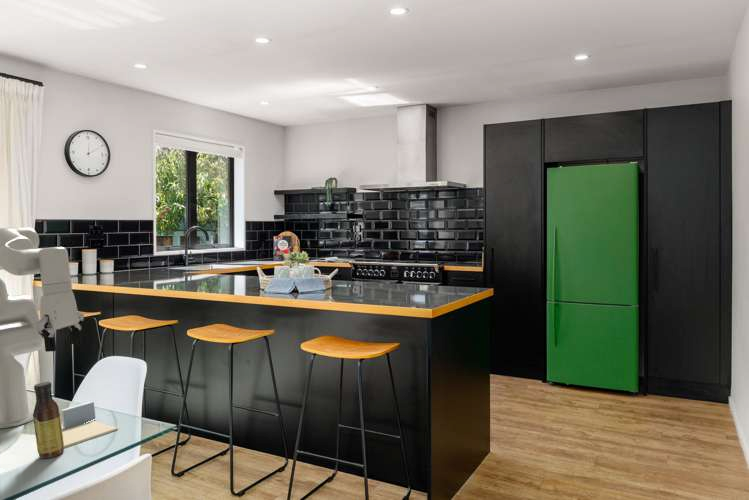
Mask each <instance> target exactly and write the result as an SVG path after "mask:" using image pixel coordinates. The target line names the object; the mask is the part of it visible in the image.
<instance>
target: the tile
mask: <svg viewBox="0 0 749 500" xmlns="http://www.w3.org/2000/svg"><path fill="white" fill-rule="evenodd" d="M61 418H62V419H61V420H62V421H61V422H62V430H66V429H69V428H72V427H75V426H78V425H82V424H84V423H86V422H88V421H91V420H93V419H95V418H96V411H95V402H94V401H88V402H84V403H81V404H78V405H73V406H70V407H67V408H63V409H61Z"/></svg>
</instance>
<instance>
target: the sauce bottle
mask: <svg viewBox="0 0 749 500" xmlns="http://www.w3.org/2000/svg"><path fill="white" fill-rule="evenodd" d="M33 390H34V392H35V393H34V394H35V405H34V410H33V412H32V413H33V420H32V421H33V425H34V427H33V428H34V433H35V434H34V435H35V443H36V448H37V453H38V456H39V458H40V459H50V458H55V457H57V456H59V455H61V454H62V453H64V452H65V448H64V447H63V446H64V442H63V434H62V430H63V426H62V421H61V420H62V419H61V415H60V409H59V405H58V403H57V402H56V401H55V400H54V398H53V395H52V383H51V381H44V382H39V383H35V384H34V385H33Z"/></svg>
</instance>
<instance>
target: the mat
mask: <svg viewBox="0 0 749 500" xmlns="http://www.w3.org/2000/svg"><path fill="white" fill-rule="evenodd" d="M115 430H116V431H118V430H119V428H118V427H116V426H113V425H109V424H106V423H103V422H99V421H97V420H96V421H91V422H88V423H85V424H82V425H78V426H75V427H72V428H69V429H62V434H63V442H64V446H63V447H64V449H66V448H68V447H71V446H75V445H77V444H80V443H83V442H86V441H89V440H91V439H94V438H95V439H96V438H98V437H101V436H104V435H106V434H110V433H112V432H116V431H115Z"/></svg>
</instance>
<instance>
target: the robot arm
mask: <svg viewBox="0 0 749 500" xmlns="http://www.w3.org/2000/svg"><path fill="white" fill-rule="evenodd" d="M39 246H40V237H39V234H38V232H37V231H36V230H35V229H34V228H31V227H29V226H25V227H24V226H21V227H0V270H1V271H2V270H3V271H5V272H7V273H9V274H10V275H13V276H28V275H29V276H30V275H38V274H40V280H41V281H40V282H41V290H42V296H40V302H39V303H40V304H39V311H38V306H37V304H36V302H35V300H34V299H33V298H32V297H31V296H30V295H28V294H18V295H9V293H8V289H7V284H6V282H5V281H4V280H3V279H2V278H1V277H0V327H2V326H3V327H4V326H9V325H14V324H15V325H16V324H20V325H19V326H15V327H7V328H1V329H0V430H1V429H8V428H13V427H18V426H21V425H24V424H27V423H30V422H32V421H34V420H33V413H34V412H30V409H29V399H28V392H27V391H28V389H27V383H26V375H25V369H24V368H25V367H24V366H23V364H22V363H21V362H20V361H18V360H17V359H16V358H15V357H16V356H17V357H18V356H19V355H25V354H29V353H33V352H37V351H40V350H41V349H42V348H43V347H44V351H45V352H56V351H57V345H56V343H57V342H56V337H55V336H54V334H55V333H56V330H60V329H65V328H69V329H70V331H69V336H70V344H71V345H80V344H82V336H81V330H82V325H83V324H84V318H85V314H84V313H82V312H80V311H78V306H77V301H76V298H75V294H74V292H73V284H72V277H71V269H70V263H69V252H68V250H67V248H66V247H63V246H54V247H42V248H41V247H40V248H39Z"/></svg>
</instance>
